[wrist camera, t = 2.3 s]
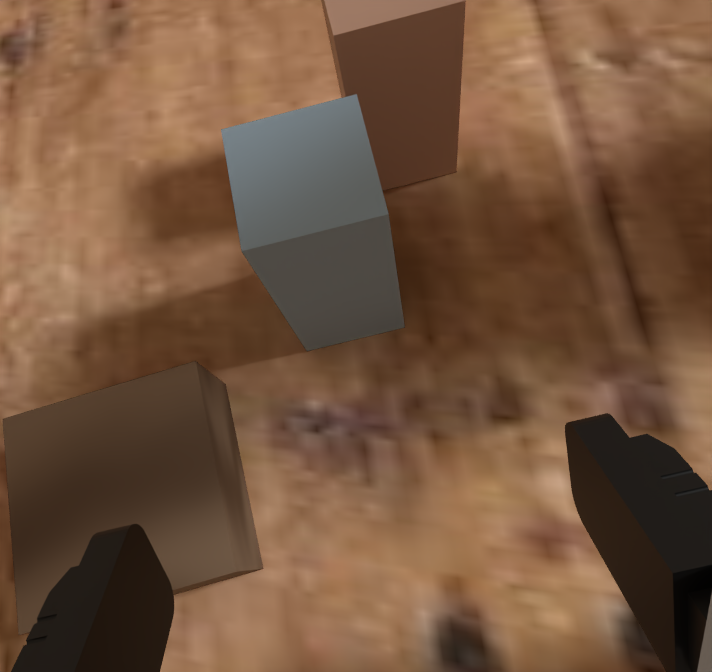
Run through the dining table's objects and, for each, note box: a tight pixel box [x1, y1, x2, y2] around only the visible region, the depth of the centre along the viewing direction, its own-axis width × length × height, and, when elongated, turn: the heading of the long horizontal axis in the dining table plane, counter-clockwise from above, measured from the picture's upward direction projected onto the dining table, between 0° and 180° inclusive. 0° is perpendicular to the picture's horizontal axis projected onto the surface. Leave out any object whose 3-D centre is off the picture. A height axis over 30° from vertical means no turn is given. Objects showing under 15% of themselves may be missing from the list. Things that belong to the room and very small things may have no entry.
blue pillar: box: [221, 94, 405, 351], centre depth 24 cm, size 4×4×10 cm
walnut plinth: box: [3, 361, 263, 635], centre depth 25 cm, size 8×8×4 cm
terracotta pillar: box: [321, 0, 466, 191], centre depth 26 cm, size 4×4×10 cm
